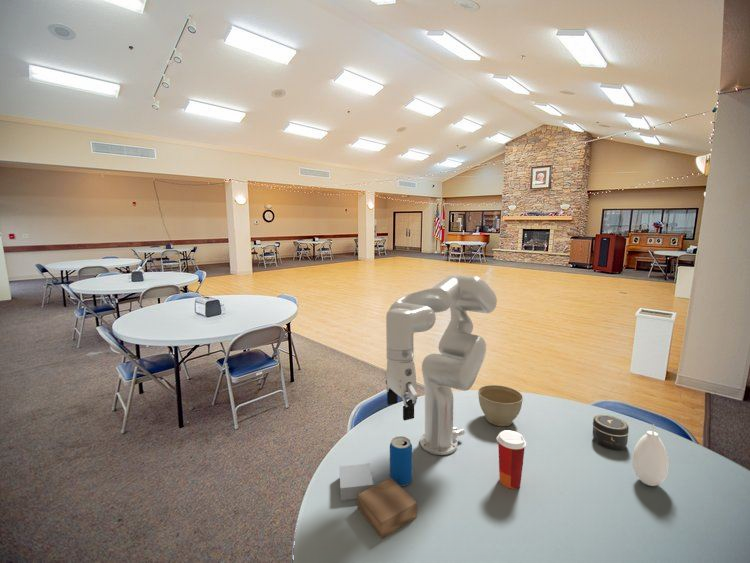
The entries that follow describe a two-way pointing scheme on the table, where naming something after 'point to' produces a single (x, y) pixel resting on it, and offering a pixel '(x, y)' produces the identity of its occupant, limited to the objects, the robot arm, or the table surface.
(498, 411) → the planter bowl
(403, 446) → the beverage can
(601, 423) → the jar
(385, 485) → the walnut block
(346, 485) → the grey square block
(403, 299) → the robot arm
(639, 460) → the white egg shaped candle
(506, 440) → the paper cup
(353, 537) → the table surface
